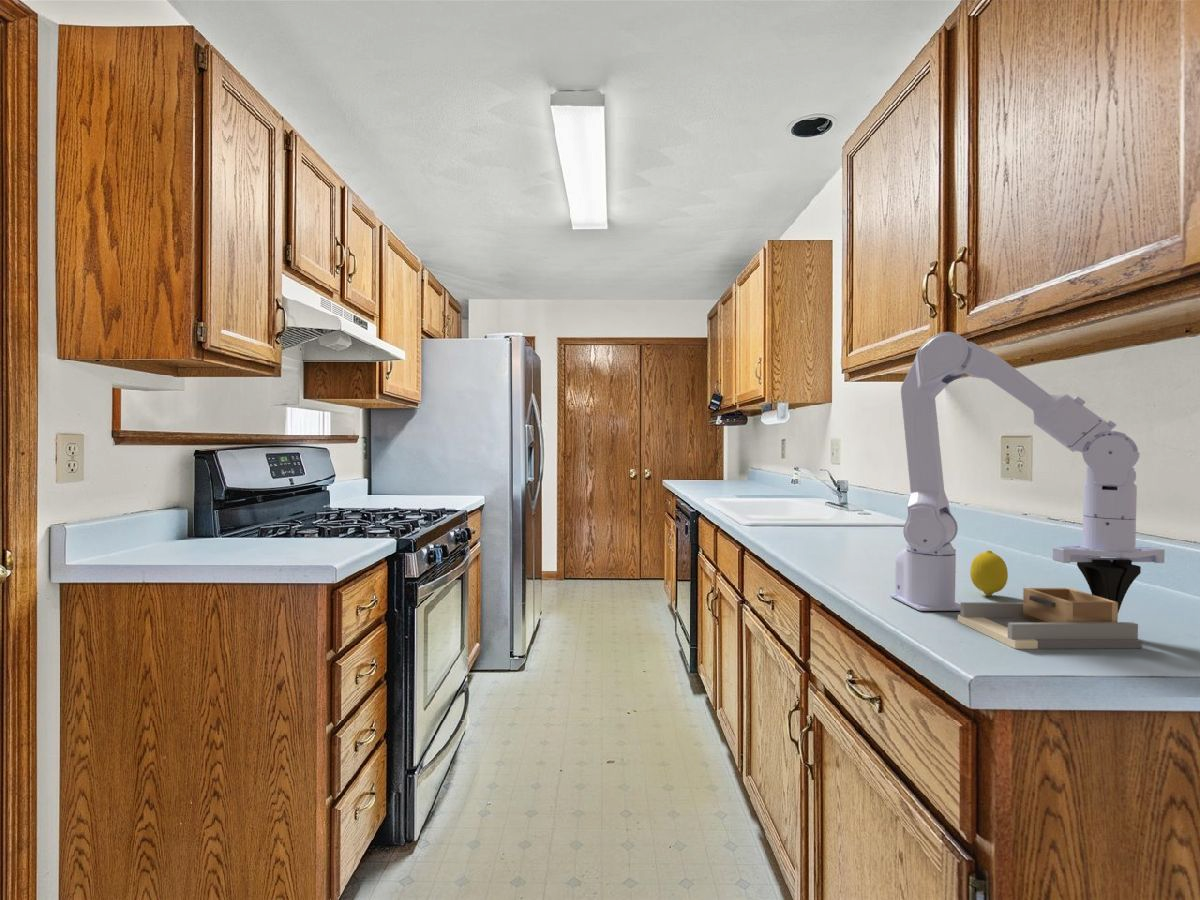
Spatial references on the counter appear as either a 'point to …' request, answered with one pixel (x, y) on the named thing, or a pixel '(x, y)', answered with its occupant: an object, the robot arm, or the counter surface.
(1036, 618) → the crate
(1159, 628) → the counter surface
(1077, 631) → the bay
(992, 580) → the lemon
